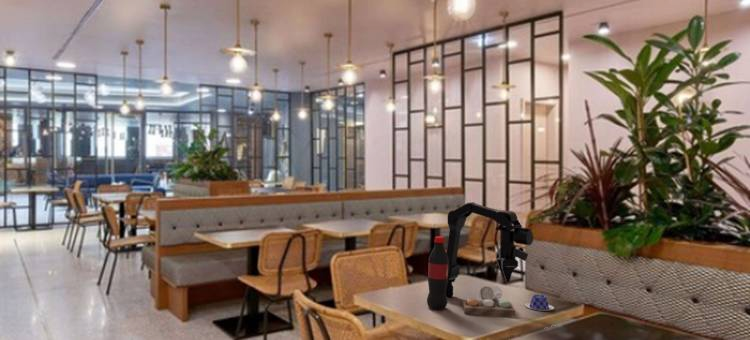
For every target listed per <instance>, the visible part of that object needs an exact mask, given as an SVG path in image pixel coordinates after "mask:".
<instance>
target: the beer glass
mask: <svg viewBox="0 0 750 340" xmlns="http://www.w3.org/2000/svg"><path fill="white" fill-rule="evenodd" d="M478 295H479V298H480V299H481V301H483V300H485V299H488V300H493V301H495V302H496V301H499V300H501V298H502V296H503V290H502V289H501V287H499V286H497V285H494V286H493V285H484V286H482V287H481V288H480V289H479V291H478Z"/></svg>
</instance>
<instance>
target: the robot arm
mask: <svg viewBox="0 0 750 340" xmlns="http://www.w3.org/2000/svg"><path fill="white" fill-rule="evenodd" d="M472 214H476V215H477V216H482V217H486V218H488V219H491V220H493V221H495V222H496V224H498V226H497V227H495V230H496V231H500V233H499V235H500V237H499V243H498V246H499V251H497V252H496V253H495V258H496V259H495V260H496V262H497V265H498V267H499V270H500V273H501V276H502V278H504V279H505V282H506V283H510V281H511V277H512V275H513V271H514V270H516V269H517V268H518V267H519V261H518V260H517V259H516V258H518V259H520V260H523V262H526V261H527V259H528V256H529V253H528V252H526V251H524V248H523V247H522V246H518V248H517V247H516V245H515V244H518V245H519V244H520V245H526V246H531V245H532V244H533V241H534V234H533V232H532V228H531V227H523V225H522V224H521V222H520V221H519V219H518V216H517V213H515V212H514V211H511V210H500V209H499V210H498V209H495V208H491V207H488V206H484V205H481V204H478V203H475V202H473V201H472V202H467V203H465V204H463V205H462V206H460V207H458V208H456V209H455V210H450V211H448V213H447V225H448V228H449V231H448V232H449V233H448V240H447V245H446V246H447V247H446V254H447V256H448V260H449V263H448V283H447V288H446V296H447V299H448V298H449V299H452V298H453V296H454V285H453V283H454V282H456V279H457V278H459V277H458V276H459V275H460V269H461V266H460V265H458V263H457V258H458V252H459V244H460V237H461V233H462V232H461V231H462V230H463V228H464V225H465V224H466V220H467V218H468V217H470V216H471V215H472Z"/></svg>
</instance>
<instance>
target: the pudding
mask: <svg viewBox="0 0 750 340" xmlns="http://www.w3.org/2000/svg"><path fill="white" fill-rule="evenodd" d="M524 306H525V307H526V308H528V309H531V310H536V311H543V312H545V311H553V310H554V309H555V307H554V306H553V305H551V304H549V301H548V297H547V296H546V295H543V294H533V295H532V297H531V300H530V302H527V303H525V304H524Z"/></svg>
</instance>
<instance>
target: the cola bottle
mask: <svg viewBox="0 0 750 340" xmlns="http://www.w3.org/2000/svg"><path fill="white" fill-rule="evenodd" d="M433 243H434V246H433V249H432V250H431V253H430V255H429V257H428V261H427V262H428V271H427V273H428V276H427V282H428V283H427V284H428V294H427V297H426V304H427V306H428V308H430V309H431V310H435V311H442V310H445V309H446V308H447V305H448V298H447V296H446V288H447V283H448V263H449V260H448V256H447V254H446V252H447V250H446V249H445V245H444V243H445V238H444V236H442V235H441V236H440V235H439V236H435V237H434V242H433Z"/></svg>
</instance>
